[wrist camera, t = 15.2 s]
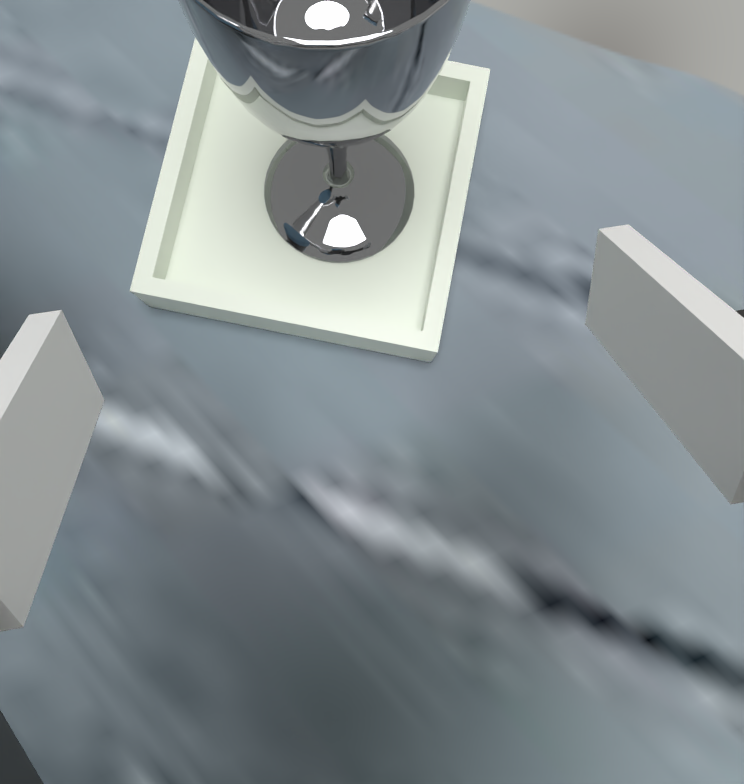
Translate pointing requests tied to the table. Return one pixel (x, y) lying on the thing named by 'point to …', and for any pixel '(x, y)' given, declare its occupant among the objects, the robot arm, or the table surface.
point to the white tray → (280, 260)
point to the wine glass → (331, 106)
